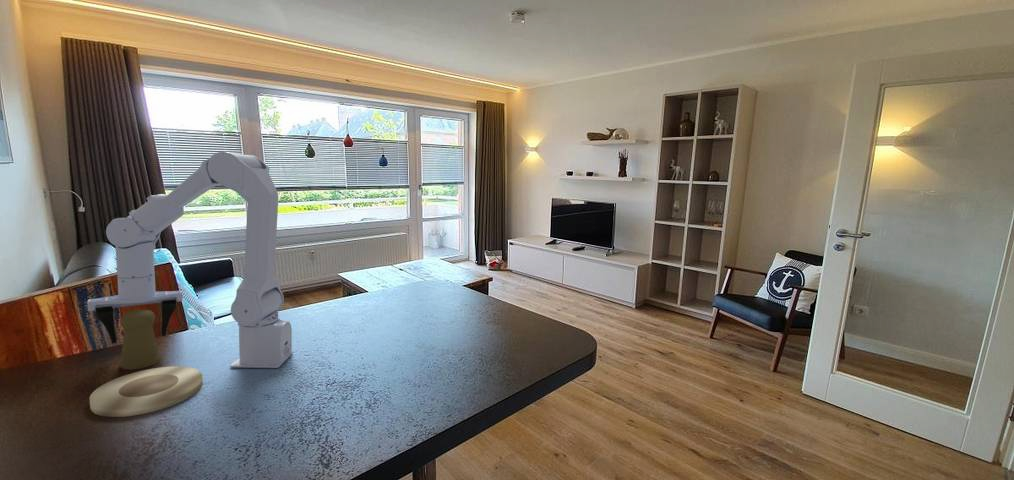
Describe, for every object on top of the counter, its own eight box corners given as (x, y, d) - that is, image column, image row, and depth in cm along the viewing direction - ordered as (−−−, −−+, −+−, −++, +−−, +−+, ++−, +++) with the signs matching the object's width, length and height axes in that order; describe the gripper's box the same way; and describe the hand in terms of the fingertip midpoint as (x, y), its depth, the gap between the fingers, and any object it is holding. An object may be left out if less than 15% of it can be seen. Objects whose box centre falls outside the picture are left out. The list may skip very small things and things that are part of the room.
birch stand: (219, 374, 81) (219, 366, 80) (166, 416, 66) (165, 408, 66) (136, 373, 79) (136, 365, 79) (62, 417, 64) (61, 407, 64)
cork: (136, 371, 79) (133, 317, 78) (111, 366, 81) (108, 313, 79) (167, 359, 85) (165, 308, 84) (144, 354, 86) (141, 305, 85)
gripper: (180, 268, 92) (182, 326, 93) (88, 274, 82) (92, 338, 84) (182, 275, 86) (184, 335, 88) (84, 282, 77) (89, 350, 79)
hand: (139, 337), depth 86 cm, fingers open, 7 cm apart
